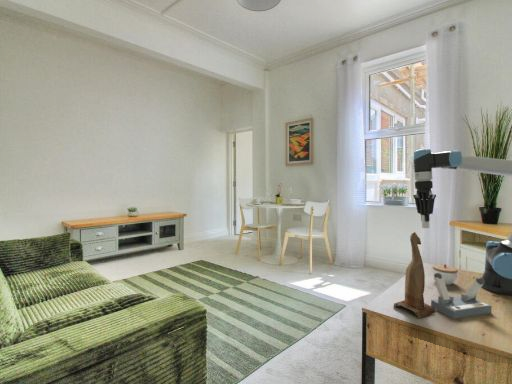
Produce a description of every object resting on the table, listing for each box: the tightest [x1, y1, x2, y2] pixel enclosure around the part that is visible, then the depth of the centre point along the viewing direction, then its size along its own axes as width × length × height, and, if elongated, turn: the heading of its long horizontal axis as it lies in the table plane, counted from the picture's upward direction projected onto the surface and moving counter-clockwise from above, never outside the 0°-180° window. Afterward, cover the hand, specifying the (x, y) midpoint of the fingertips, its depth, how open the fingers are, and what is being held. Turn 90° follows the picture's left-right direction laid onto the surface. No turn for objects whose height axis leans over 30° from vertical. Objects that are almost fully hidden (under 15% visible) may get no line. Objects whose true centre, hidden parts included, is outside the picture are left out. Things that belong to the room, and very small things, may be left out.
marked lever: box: [465, 276, 485, 299], centre depth 113 cm, size 3×4×12 cm
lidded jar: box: [432, 264, 459, 286], centre depth 142 cm, size 11×11×9 cm
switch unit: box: [430, 292, 492, 320], centre depth 112 cm, size 10×19×6 cm, turn 105°
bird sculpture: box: [393, 231, 436, 320], centre depth 112 cm, size 11×12×32 cm
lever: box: [433, 273, 451, 303], centre depth 114 cm, size 3×4×12 cm
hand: (425, 228), depth 137 cm, fingers closed
